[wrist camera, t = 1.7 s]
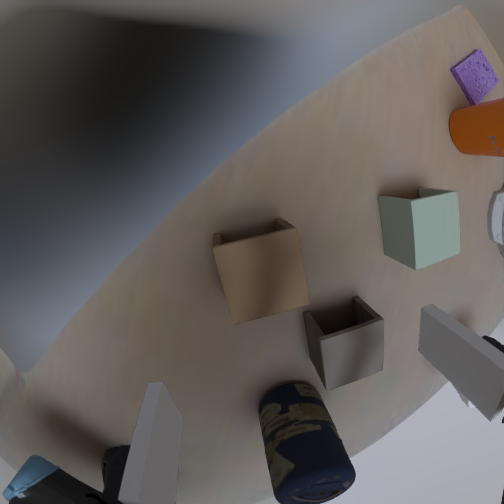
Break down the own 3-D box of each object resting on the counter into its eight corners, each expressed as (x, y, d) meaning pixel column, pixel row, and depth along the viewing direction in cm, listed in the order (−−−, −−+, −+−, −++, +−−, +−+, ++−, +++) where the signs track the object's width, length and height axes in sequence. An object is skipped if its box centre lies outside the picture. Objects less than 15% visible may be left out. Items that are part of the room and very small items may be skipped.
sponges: (493, 82, 30) (499, 81, 28) (469, 108, 31) (477, 106, 29) (474, 50, 28) (480, 47, 26) (447, 70, 29) (454, 67, 27)
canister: (275, 371, 37) (308, 479, 19) (330, 385, 38) (378, 477, 21) (246, 416, 38) (261, 516, 21) (299, 426, 40) (328, 514, 23)
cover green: (384, 254, 34) (415, 270, 27) (377, 196, 32) (410, 201, 25) (426, 241, 34) (459, 253, 28) (422, 187, 32) (457, 191, 26)
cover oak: (310, 358, 37) (326, 390, 30) (303, 312, 35) (320, 340, 28) (360, 342, 37) (383, 369, 30) (357, 295, 35) (383, 319, 28)
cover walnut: (230, 296, 33) (233, 324, 26) (214, 234, 31) (211, 248, 25) (293, 280, 34) (310, 304, 27) (280, 217, 32) (296, 227, 25)
